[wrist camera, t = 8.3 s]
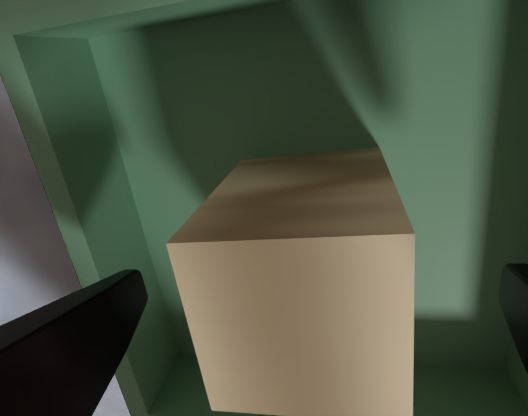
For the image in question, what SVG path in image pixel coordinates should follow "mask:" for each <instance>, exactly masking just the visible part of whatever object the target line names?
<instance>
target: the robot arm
mask: <svg viewBox="0 0 528 416" xmlns="http://www.w3.org/2000/svg"><path fill="white" fill-rule="evenodd" d="M498 298H499V304H500V307H501V310H502V312H503V315H504V317H505V320H506V323H507V325H508V328H509V330H510V333H511V335H512V338H513V341H514V343H515V346H516V348H517V351H518V354H519V356H520V359H521V361H522V363H523V366H524V368H525V370H526V372H527V374H528V264H526V263H507V264H504V265H503V267H502V270H501V278H500V286H499V294H498ZM147 301H148V293H147V290H146V286H145V283H144V280H143V276H142V274H141V272H140V271H139V270H138V269H125V270H122V271H120V272H118V273H115V274H113V275H111V276H109V277H107V278H104V279H102V280H100V281H98V282H96V283H93V284H91V285H89V286H87V287H85V288H82V289H80V290H78V291H76V292H74V293H71V294H69V295H67V296H65V297H63V298H60V299H58V300H56V301H54V302H52V303H49V304H47V305H45V306H43V307H41V308H38V309H36V310H34V311H32V312H30V313H27V314H25V315H23V316H21V317H19V318H16V319H14V320H12V321H10V322H8V323H5V324H3V325H1V326H0V416H92V415H93V413H94V411H95V409H96V407H97V405H98V404H99V402H100V400H101V398H102V396H103V394H104V392H105V391H106V389H107V387H108V385H109V383H110V381H111V379H112V378H113V376H114V374H115V372H116V370H117V368H118V367H119V365H120V363H121V361H122V359H123V357H124V355H125V353H126V351H127V349H128V347H129V345H130V343H131V340H132V338H133V335H134V333H135V331H136V328H137V326H138V324H139V321H140V319H141V316H142V314H143V312H144V309H145V307H146V305H147Z"/></svg>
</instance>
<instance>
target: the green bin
mask: <svg viewBox="0 0 528 416" xmlns="http://www.w3.org/2000/svg"><path fill="white" fill-rule="evenodd" d="M0 75H1V77H2V80H3V82H4V85H5V88H6V90H7V93H8V96H9V98H10V101H11V103H12V106H13V109H14V111H15V114H16V116H17V119H18V122H19V124H20V127H21V130H22V132H23V135H24V137H25V140H26V143H27V145H28V148H29V151H30V153H31V156H32V158H33V161H34V164H35V166H36V169H37V172H38V174H39V177H40V179H41V182H42V185H43V187H44V190H45V192H46V195H47V198H48V200H49V203H50V206H51V208H52V211H53V213H54V216H55V219H56V221H57V224H58V227H59V229H60V232H61V234H62V237H63V240H64V242H65V245H66V247H67V250H68V253H69V255H70V258H71V261H72V263H73V266H74V268H75V271H76V274H77V276H78V279H79V282H80V284H81V287H82V288H85V287H87V286H89V285H91V284H93V283H96V282H98V281H100V280H102V279H104V278H107V277H109V276H111V275H113V274H115V273H118V272H120V271H122V270H125V269H138V270H139V271H140V272H141V274H142V276H143V280H144V283H145V286H146V290H147V293H148V301H147V305H146V307H145V309H144V312H143V314H142V316H141V319H140V321H139V324H138V326H137V328H136V331H135V333H134V335H133V338H132V340H131V343H130V345H129V347H128V349H127V351H126V353H125V355H124V357H123V359H122V361H121V363H120V365H119V367H118V368H117V370H116V372H115V376H116V378H117V381H118V384H119V386H120V389H121V392H122V394H123V397H124V399H125V402H126V405H127V407H128V410H129V413H130V415H131V416H279V415H266V414H252V413H239V412H225V411H212V410H211V407H210V403H209V399H208V396H207V392H206V388H205V385H204V381H203V377H202V374H201V370H200V367H199V363H198V359H197V356H196V352H195V348H194V345H193V341H192V337H191V334H190V330H189V326H188V323H187V319H186V315H185V312H184V308H183V304H182V301H181V297H180V293H179V290H178V286H177V282H176V279H175V275H174V272H173V268H172V264H171V261H170V257H169V253H168V250H167V246H166V243H167V242H168V241H169V240H170V239H171V237H172V236H173V235H174V234H175V233H176V232H177V231H178V230H179V229H180V227H181V226H182V225H183V224H184V223H185V222H186V221H187V220H188V219H189V218H190V216H191V215H192V214H193V213H194V212H195V211H196V210H197V209H198V208H199V207H200V205H201V204H202V203H203V202H204V201H205V200H206V199H207V198H208V197H209V196H210V194H211V193H212V192H213V191H214V190H215V189H216V188H217V187H218V186H219V185H220V183H221V182H222V181H223V180H224V179H225V178H226V177H227V176H228V175H229V173H230V172H231V171H232V170H233V169H234V168H235V167H236V166H237V165H238V164H239V162H240V161H241V160H245V159H256V158H267V157H277V156H288V155H299V154H309V153H320V152H331V151H341V150H352V149H363V148H374V147H380V150H381V152H382V154H383V157H384V159H385V162H386V164H387V167H388V169H389V172H390V174H391V176H392V179H393V181H394V184H395V186H396V189H397V191H398V193H399V196H400V198H401V201H402V203H403V206H404V208H405V210H406V213H407V215H408V218H409V220H410V223H411V225H412V228H413V230H414V232H415V278H414V368H413V416H528V374H527V372H526V370H525V368H524V366H523V363H522V361H521V359H520V356H519V354H518V351H517V348H516V346H515V343H514V341H513V338H512V335H511V333H510V330H509V328H508V325H507V323H506V320H505V317H504V315H503V312H502V310H501V307H500V304H499V298H498V294H499V286H500V278H501V270H502V267H503V265H504V264H507V263H526V264H528V0H0Z"/></svg>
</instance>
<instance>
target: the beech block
mask: <svg viewBox="0 0 528 416" xmlns="http://www.w3.org/2000/svg"><path fill="white" fill-rule="evenodd" d="M166 246H167V250H168V253H169V257H170V261H171V264H172V268H173V272H174V275H175V279H176V282H177V286H178V290H179V293H180V297H181V301H182V304H183V308H184V312H185V315H186V319H187V323H188V326H189V330H190V334H191V337H192V341H193V345H194V348H195V352H196V356H197V359H198V363H199V367H200V370H201V374H202V377H203V381H204V385H205V388H206V392H207V396H208V399H209V403H210V407H211V410H212V411H225V412H239V413H252V414H266V415H279V416H413V368H414V278H415V232H414V230H413V228H412V225H411V223H410V220H409V218H408V215H407V213H406V210H405V208H404V206H403V203H402V201H401V198H400V196H399V193H398V191H397V189H396V186H395V184H394V181H393V179H392V176H391V174H390V172H389V169H388V167H387V164H386V162H385V159H384V157H383V154H382V152H381V150H380V147H374V148H363V149H352V150H341V151H331V152H320V153H309V154H299V155H288V156H277V157H267V158H256V159H245V160H241V161H240V162H239V164H238V165H237V166H236V167H235V168H234V169H233V170H232V171H231V172H230V173H229V175H228V176H227V177H226V178H225V179H224V180H223V181H222V182H221V183H220V185H219V186H218V187H217V188H216V189H215V190H214V191H213V192H212V193H211V194H210V196H209V197H208V198H207V199H206V200H205V201H204V202H203V203H202V204H201V205H200V207H199V208H198V209H197V210H196V211H195V212H194V213H193V214H192V215H191V216H190V218H189V219H188V220H187V221H186V222H185V223H184V224H183V225H182V226H181V227H180V229H179V230H178V231H177V232H176V233H175V234H174V235H173V236H172V237H171V239H170V240H169V241H168V242H167V243H166Z"/></svg>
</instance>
